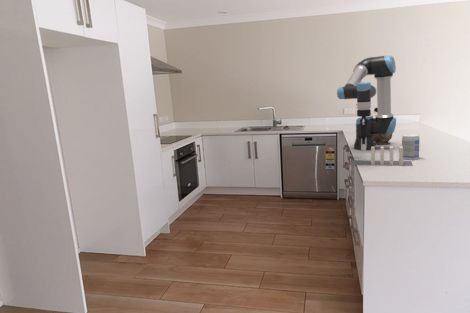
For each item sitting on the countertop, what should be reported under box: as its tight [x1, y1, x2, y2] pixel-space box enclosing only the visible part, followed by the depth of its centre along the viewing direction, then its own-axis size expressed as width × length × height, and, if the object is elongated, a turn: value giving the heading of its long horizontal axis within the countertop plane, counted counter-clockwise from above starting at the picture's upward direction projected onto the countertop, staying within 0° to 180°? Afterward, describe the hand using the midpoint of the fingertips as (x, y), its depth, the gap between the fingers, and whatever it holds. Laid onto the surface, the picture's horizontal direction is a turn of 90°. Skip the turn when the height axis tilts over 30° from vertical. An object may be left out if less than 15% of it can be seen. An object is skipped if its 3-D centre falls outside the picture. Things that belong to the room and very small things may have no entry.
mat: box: [349, 159, 414, 167], centre depth 207 cm, size 13×34×1 cm, turn 67°
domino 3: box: [379, 146, 385, 166], centre depth 203 cm, size 5×2×10 cm, turn 157°
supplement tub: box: [401, 133, 420, 161], centre depth 212 cm, size 10×10×15 cm
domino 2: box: [370, 145, 376, 166], centre depth 205 cm, size 5×2×10 cm, turn 157°
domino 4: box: [389, 146, 394, 165], centre depth 201 cm, size 5×2×10 cm, turn 157°
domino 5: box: [398, 145, 404, 165], centre depth 199 cm, size 5×2×10 cm, turn 157°
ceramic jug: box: [373, 107, 393, 145], centre depth 266 cm, size 17×15×30 cm
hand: (363, 148), depth 206 cm, fingers closed on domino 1, 5 cm apart
